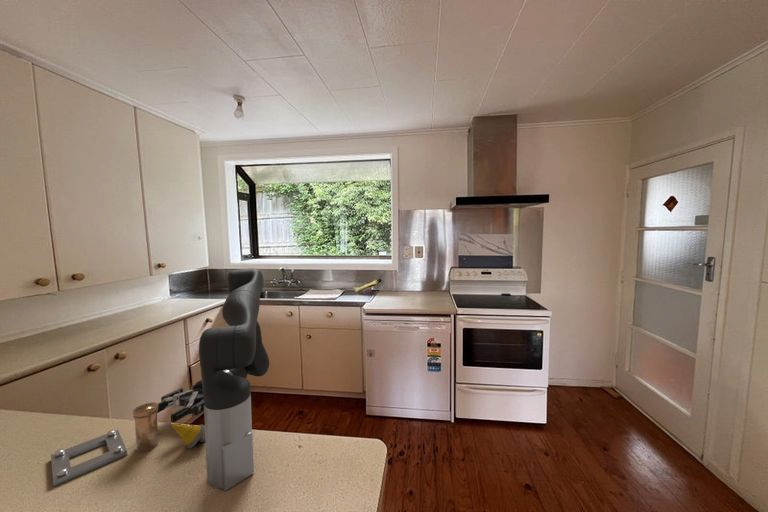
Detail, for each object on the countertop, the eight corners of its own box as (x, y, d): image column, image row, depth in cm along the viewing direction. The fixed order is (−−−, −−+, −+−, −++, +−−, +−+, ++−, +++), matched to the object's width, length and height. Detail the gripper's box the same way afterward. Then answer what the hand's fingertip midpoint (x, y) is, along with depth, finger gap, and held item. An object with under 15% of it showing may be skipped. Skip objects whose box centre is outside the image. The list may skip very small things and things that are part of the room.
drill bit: (203, 453, 73) (166, 436, 69) (196, 453, 76) (159, 436, 72) (217, 430, 77) (182, 412, 73) (209, 430, 80) (176, 414, 76)
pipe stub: (162, 444, 75) (160, 407, 75) (137, 456, 71) (135, 416, 71) (157, 436, 78) (155, 400, 78) (132, 446, 75) (130, 408, 74)
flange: (127, 454, 72) (126, 447, 72) (53, 487, 63) (52, 478, 63) (118, 433, 80) (117, 426, 79) (51, 459, 70) (50, 451, 70)
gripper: (198, 371, 95) (142, 396, 80) (231, 378, 90) (178, 407, 75) (199, 393, 96) (143, 423, 80) (232, 402, 91) (180, 435, 76)
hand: (160, 415), depth 78 cm, fingers open, 8 cm apart
